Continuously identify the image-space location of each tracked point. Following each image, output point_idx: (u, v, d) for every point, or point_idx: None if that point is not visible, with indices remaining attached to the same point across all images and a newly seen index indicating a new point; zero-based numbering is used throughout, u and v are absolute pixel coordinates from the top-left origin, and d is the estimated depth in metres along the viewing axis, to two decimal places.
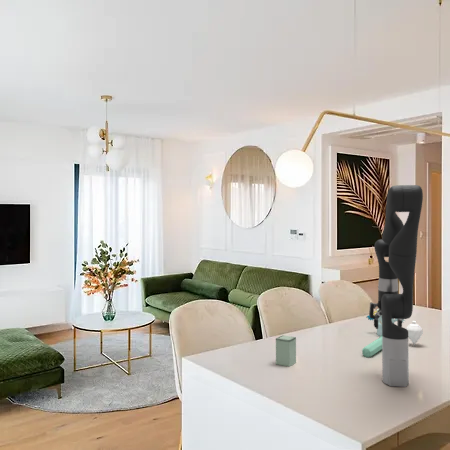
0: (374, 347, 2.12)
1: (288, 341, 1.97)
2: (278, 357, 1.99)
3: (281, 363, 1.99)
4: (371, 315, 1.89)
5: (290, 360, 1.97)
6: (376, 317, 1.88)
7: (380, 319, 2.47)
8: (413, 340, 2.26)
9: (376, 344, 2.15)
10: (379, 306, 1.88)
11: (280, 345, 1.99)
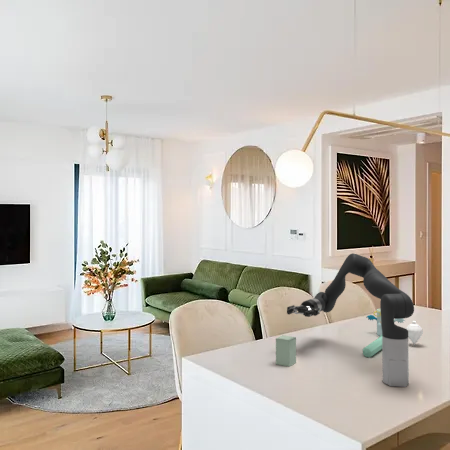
0: (374, 347, 2.12)
1: (288, 341, 1.97)
2: (278, 357, 1.99)
3: (281, 363, 1.99)
4: (288, 307, 2.18)
5: (290, 360, 1.97)
6: (291, 307, 2.17)
7: (380, 319, 2.47)
8: (413, 340, 2.26)
9: (376, 344, 2.15)
10: None
11: (280, 345, 1.99)
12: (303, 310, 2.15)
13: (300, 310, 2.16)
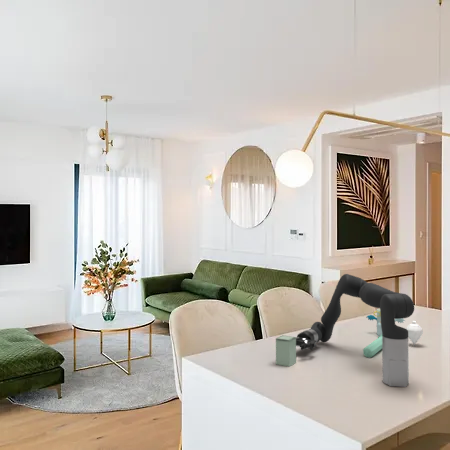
0: (375, 347, 2.12)
1: (288, 341, 1.97)
2: (278, 357, 1.99)
3: (281, 363, 1.99)
4: None
5: (290, 360, 1.97)
6: None
7: (380, 319, 2.47)
8: (413, 340, 2.26)
9: (376, 344, 2.15)
10: None
11: (280, 345, 1.99)
12: (299, 342, 2.11)
13: (296, 342, 2.12)
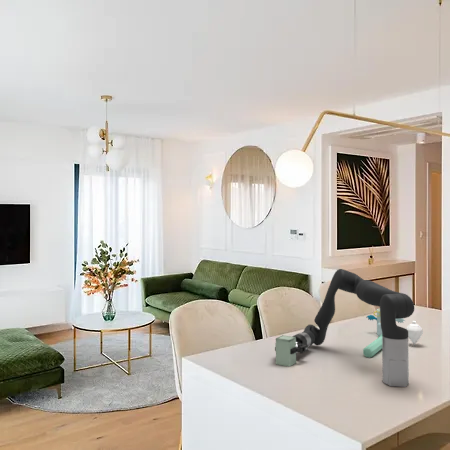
0: (375, 347, 2.12)
1: (288, 341, 1.97)
2: (278, 357, 1.99)
3: (281, 363, 1.99)
4: None
5: (290, 360, 1.97)
6: None
7: (380, 319, 2.47)
8: (413, 340, 2.26)
9: (376, 344, 2.15)
10: None
11: (280, 345, 1.99)
12: None
13: None
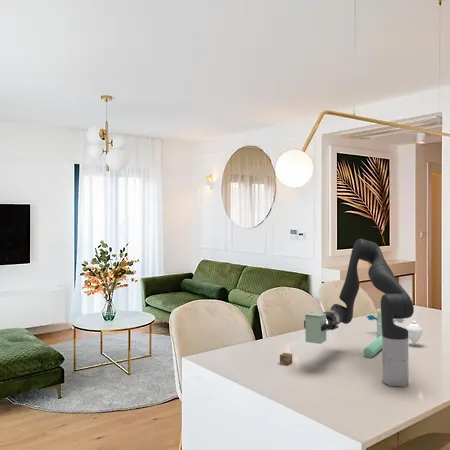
0: (375, 347, 2.12)
1: (319, 317, 1.88)
2: (308, 334, 1.90)
3: (311, 340, 1.90)
4: None
5: (321, 337, 1.88)
6: None
7: (380, 319, 2.47)
8: (413, 340, 2.26)
9: (376, 344, 2.15)
10: None
11: (310, 322, 1.90)
12: None
13: None
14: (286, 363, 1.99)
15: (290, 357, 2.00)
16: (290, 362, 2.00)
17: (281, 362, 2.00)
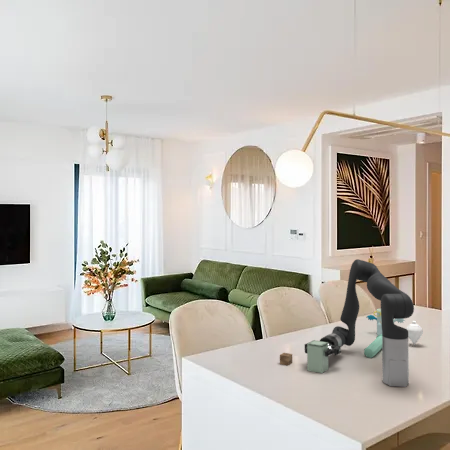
0: (375, 347, 2.12)
1: (321, 346, 1.88)
2: (310, 363, 1.91)
3: (313, 369, 1.90)
4: (306, 344, 1.99)
5: (323, 366, 1.88)
6: None
7: (380, 319, 2.47)
8: (413, 340, 2.26)
9: (377, 344, 2.15)
10: None
11: (312, 350, 1.90)
12: None
13: None
14: (286, 363, 1.99)
15: (290, 357, 2.00)
16: (290, 362, 2.00)
17: (281, 362, 2.00)
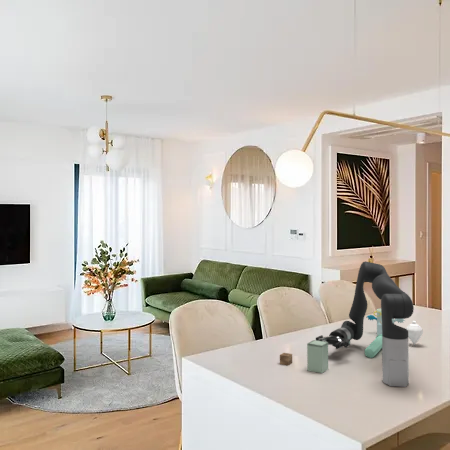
0: (376, 347, 2.12)
1: (321, 346, 1.88)
2: (310, 363, 1.91)
3: (313, 369, 1.90)
4: (317, 337, 2.09)
5: (323, 366, 1.88)
6: (320, 338, 2.07)
7: (380, 319, 2.47)
8: (413, 340, 2.26)
9: (377, 344, 2.15)
10: (327, 337, 2.10)
11: (312, 350, 1.90)
12: (333, 341, 2.05)
13: (330, 341, 2.06)
14: (286, 363, 1.99)
15: (290, 357, 2.00)
16: (290, 362, 2.00)
17: (281, 362, 2.00)
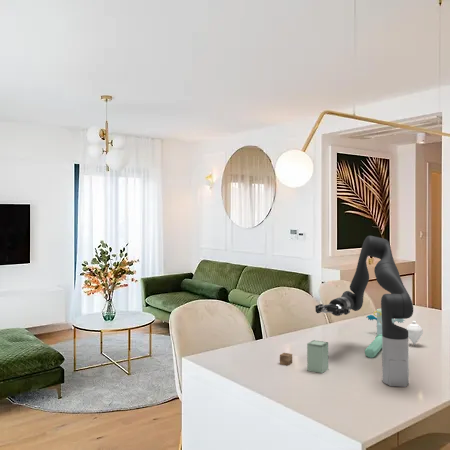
0: (376, 347, 2.12)
1: (321, 346, 1.88)
2: (310, 363, 1.91)
3: (313, 369, 1.90)
4: (317, 305, 2.09)
5: (323, 366, 1.88)
6: (320, 306, 2.07)
7: (380, 319, 2.47)
8: (413, 340, 2.26)
9: (377, 344, 2.15)
10: (326, 305, 2.10)
11: (312, 350, 1.90)
12: (333, 309, 2.05)
13: (329, 309, 2.06)
14: (286, 363, 1.99)
15: (290, 357, 2.00)
16: (290, 362, 2.00)
17: (281, 362, 2.00)
